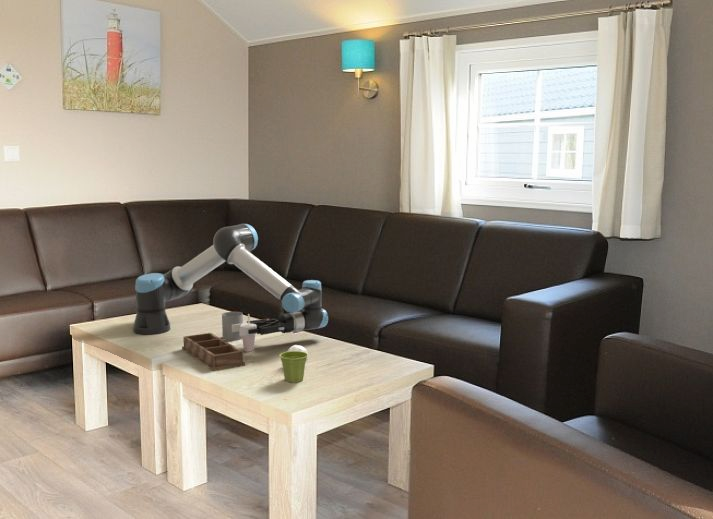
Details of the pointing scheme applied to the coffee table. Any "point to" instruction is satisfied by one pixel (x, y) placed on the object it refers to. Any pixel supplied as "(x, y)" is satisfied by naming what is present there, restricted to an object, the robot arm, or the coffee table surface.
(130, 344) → the coffee table surface
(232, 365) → the caddy
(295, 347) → the geometric ball
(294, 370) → the plant pot
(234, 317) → the cup
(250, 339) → the smoothie
